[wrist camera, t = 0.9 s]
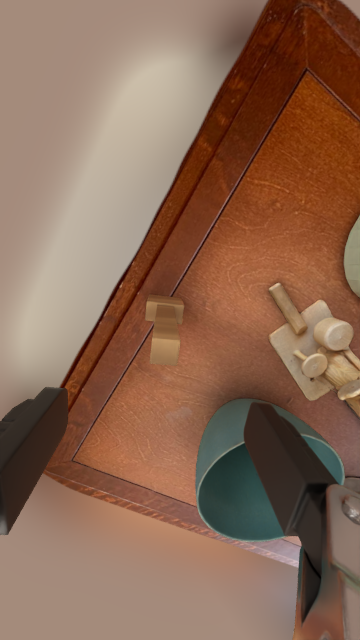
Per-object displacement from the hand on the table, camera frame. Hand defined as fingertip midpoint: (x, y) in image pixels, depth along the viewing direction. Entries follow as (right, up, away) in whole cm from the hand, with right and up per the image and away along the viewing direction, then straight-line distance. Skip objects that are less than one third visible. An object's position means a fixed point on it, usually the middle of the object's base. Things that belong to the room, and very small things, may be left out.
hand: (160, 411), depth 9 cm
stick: (-1, +6, +21) cm, 22 cm away
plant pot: (+11, -13, +28) cm, 33 cm away
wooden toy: (+21, +1, +24) cm, 32 cm away
